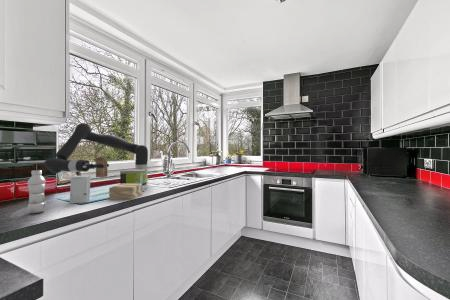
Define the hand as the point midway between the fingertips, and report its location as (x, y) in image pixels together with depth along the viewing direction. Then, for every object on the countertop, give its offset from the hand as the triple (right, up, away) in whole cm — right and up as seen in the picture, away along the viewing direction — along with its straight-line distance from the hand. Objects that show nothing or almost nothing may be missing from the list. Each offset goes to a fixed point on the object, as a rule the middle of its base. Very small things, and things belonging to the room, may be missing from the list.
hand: (105, 165), depth 128 cm
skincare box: (-7, -20, -13) cm, 25 cm away
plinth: (+13, -20, 0) cm, 24 cm away
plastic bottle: (-13, -20, -33) cm, 41 cm away
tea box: (+9, -20, +20) cm, 29 cm away
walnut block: (-3, -7, 0) cm, 8 cm away
